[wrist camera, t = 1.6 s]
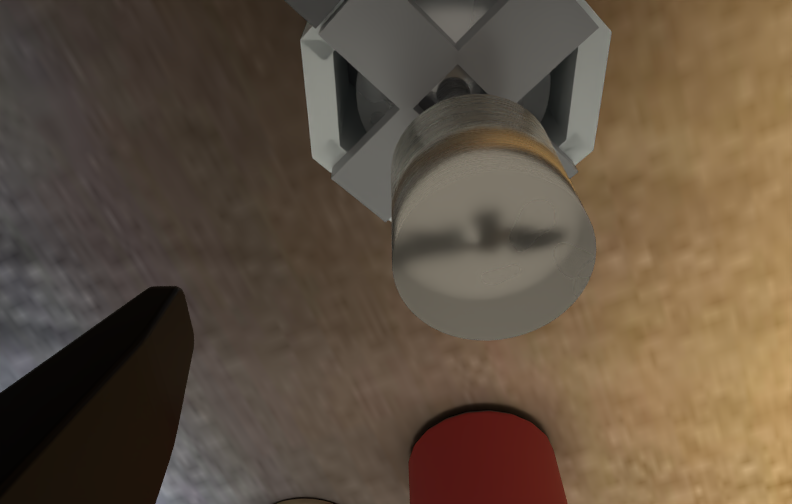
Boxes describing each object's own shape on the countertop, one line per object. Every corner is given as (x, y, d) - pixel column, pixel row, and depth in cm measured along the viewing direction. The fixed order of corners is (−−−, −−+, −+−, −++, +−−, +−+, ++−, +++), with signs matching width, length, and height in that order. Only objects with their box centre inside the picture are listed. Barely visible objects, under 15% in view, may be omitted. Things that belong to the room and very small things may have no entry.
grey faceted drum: (237, 9, 19) (186, 77, 14) (408, -205, 17) (417, -213, 12) (436, 183, 23) (451, 288, 18) (607, 29, 20) (682, 101, 15)
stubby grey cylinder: (318, 88, 16) (273, 268, 10) (454, -61, 14) (509, 41, 8) (448, 201, 18) (482, 416, 12) (584, 81, 16) (714, 257, 10)
